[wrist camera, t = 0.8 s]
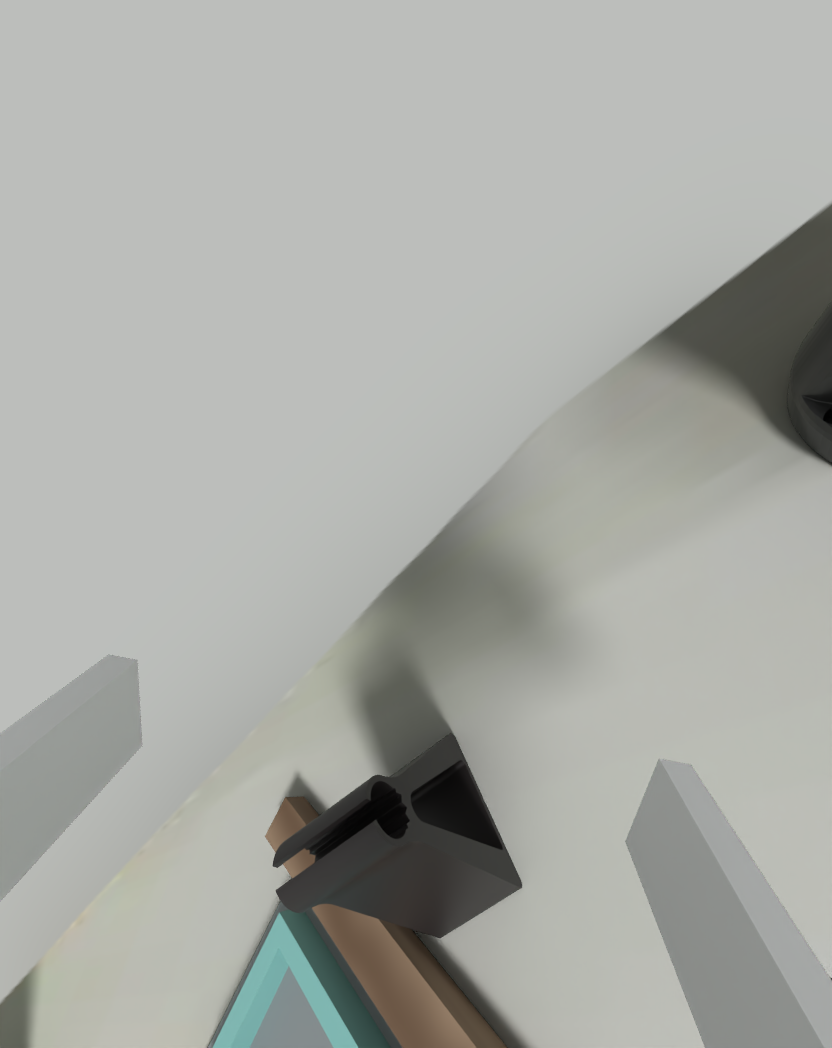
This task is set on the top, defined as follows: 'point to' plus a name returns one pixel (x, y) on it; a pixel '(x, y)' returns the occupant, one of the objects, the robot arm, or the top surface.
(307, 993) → the cradle
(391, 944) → the strip
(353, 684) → the top surface
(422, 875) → the phone stand
